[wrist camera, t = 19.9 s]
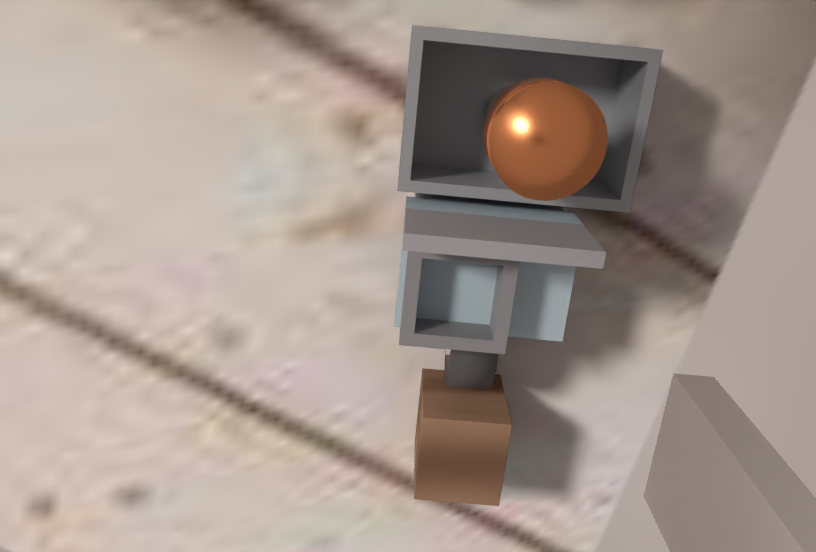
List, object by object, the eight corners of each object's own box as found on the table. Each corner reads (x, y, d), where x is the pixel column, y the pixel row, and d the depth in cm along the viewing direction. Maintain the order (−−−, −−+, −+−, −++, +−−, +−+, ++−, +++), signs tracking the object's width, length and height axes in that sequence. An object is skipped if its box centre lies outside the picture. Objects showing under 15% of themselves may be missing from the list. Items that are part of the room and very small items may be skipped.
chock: (422, 368, 45) (423, 417, 39) (500, 374, 45) (511, 424, 39) (414, 441, 47) (414, 498, 41) (489, 448, 47) (498, 505, 41)
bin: (412, 25, 38) (412, 25, 33) (632, 46, 38) (663, 50, 33) (399, 171, 41) (397, 191, 36) (605, 191, 41) (629, 212, 36)
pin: (475, 63, 38) (497, 76, 28) (562, 71, 38) (617, 88, 28) (464, 151, 40) (482, 195, 29) (548, 159, 40) (596, 205, 29)
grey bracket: (407, 182, 41) (404, 233, 31) (561, 196, 41) (606, 251, 31) (391, 352, 44) (384, 446, 35) (532, 365, 45) (565, 462, 35)
